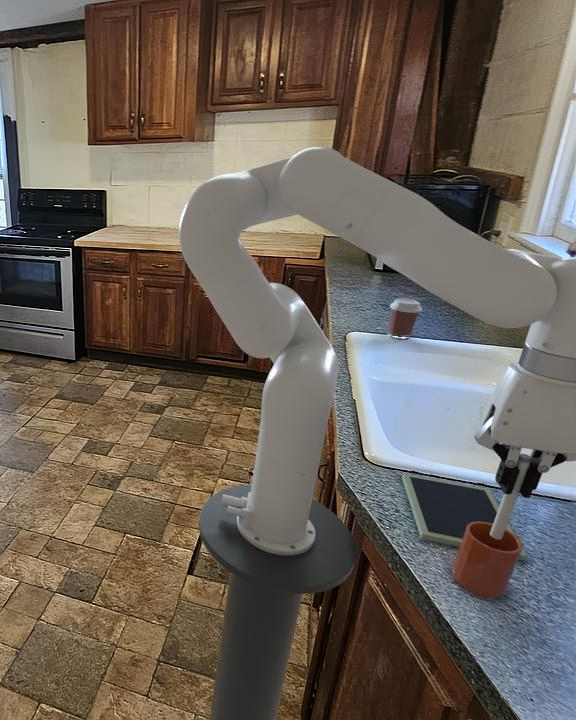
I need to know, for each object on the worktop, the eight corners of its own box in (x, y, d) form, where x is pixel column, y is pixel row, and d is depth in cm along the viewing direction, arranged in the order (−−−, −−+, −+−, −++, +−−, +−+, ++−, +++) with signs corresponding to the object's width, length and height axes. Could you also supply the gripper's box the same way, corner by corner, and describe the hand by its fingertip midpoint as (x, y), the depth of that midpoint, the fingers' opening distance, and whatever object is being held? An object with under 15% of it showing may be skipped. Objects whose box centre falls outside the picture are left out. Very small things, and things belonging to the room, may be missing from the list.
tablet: (420, 539, 84) (422, 533, 84) (401, 477, 100) (402, 472, 100) (524, 561, 80) (527, 555, 80) (487, 493, 96) (489, 488, 95)
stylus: (491, 538, 73) (520, 458, 68) (488, 531, 74) (516, 452, 69) (503, 540, 72) (533, 460, 68) (499, 534, 74) (529, 454, 69)
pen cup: (458, 591, 75) (474, 546, 72) (446, 559, 80) (461, 517, 77) (511, 603, 73) (530, 558, 70) (496, 570, 78) (512, 527, 75)
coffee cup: (392, 340, 170) (401, 305, 166) (378, 331, 179) (385, 297, 174) (420, 341, 171) (429, 305, 166) (404, 331, 179) (413, 297, 174)
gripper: (623, 360, 64) (570, 486, 71) (474, 344, 69) (439, 464, 76) (660, 384, 58) (598, 520, 65) (493, 365, 63) (452, 494, 69)
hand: (512, 489), depth 70 cm, fingers closed on stylus, 1 cm apart
